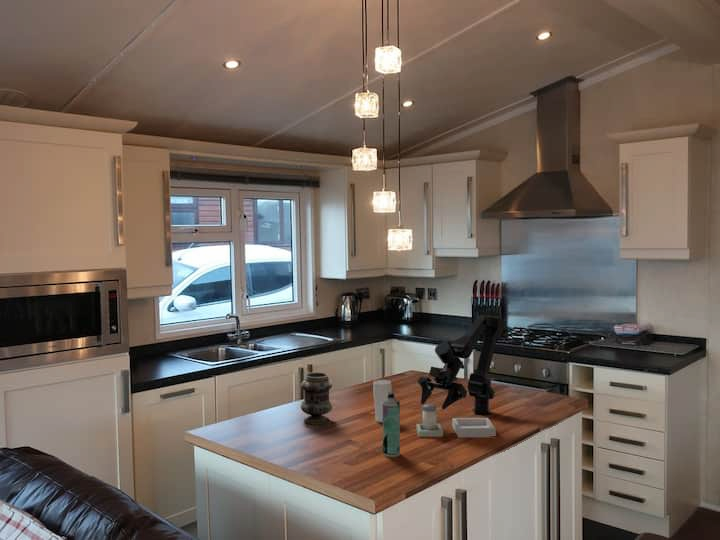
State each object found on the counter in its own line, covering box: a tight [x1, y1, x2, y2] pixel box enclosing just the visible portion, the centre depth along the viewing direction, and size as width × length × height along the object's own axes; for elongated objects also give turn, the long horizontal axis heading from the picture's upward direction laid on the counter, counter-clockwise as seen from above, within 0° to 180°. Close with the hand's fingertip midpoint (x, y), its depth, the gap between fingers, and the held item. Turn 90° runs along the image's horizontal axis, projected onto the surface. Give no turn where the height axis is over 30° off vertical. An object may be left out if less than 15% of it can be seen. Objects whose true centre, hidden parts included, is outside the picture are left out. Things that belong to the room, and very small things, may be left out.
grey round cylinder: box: [421, 403, 437, 430], centre depth 222 cm, size 5×5×10 cm
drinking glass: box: [372, 379, 392, 424], centre depth 237 cm, size 7×7×15 cm
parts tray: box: [452, 417, 497, 439], centre depth 224 cm, size 13×13×3 cm
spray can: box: [382, 391, 401, 458], centre depth 201 cm, size 6×6×20 cm
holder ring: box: [415, 423, 444, 438], centre depth 223 cm, size 8×8×2 cm
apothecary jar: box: [300, 371, 333, 426], centre depth 237 cm, size 12×12×18 cm
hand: (432, 406), depth 223 cm, fingers open, 9 cm apart
